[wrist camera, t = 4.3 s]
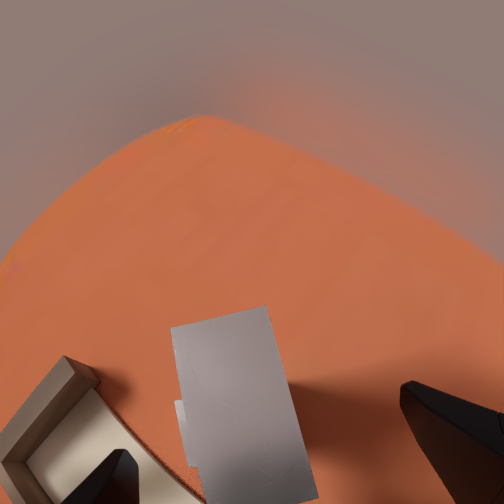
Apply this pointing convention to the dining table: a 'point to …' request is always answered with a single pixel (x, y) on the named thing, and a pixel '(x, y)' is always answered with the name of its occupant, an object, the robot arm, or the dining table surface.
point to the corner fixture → (73, 443)
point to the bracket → (239, 412)
